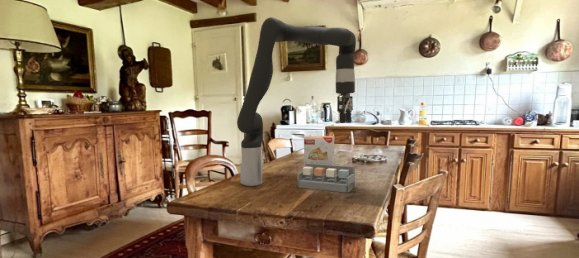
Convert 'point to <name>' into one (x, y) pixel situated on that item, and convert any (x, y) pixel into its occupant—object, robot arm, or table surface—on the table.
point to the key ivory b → (331, 172)
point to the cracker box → (319, 150)
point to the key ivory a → (307, 170)
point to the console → (327, 179)
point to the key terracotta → (319, 171)
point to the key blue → (343, 173)
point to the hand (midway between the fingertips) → (345, 122)
